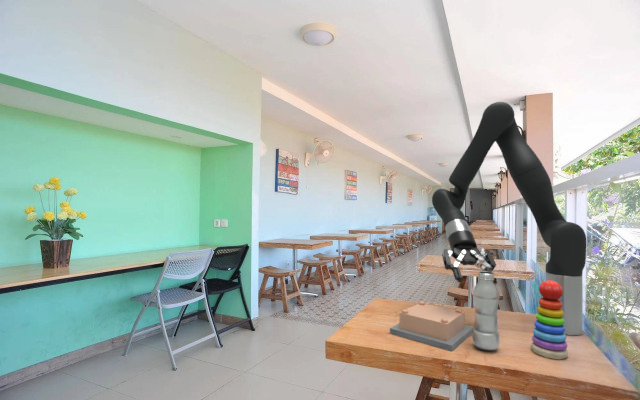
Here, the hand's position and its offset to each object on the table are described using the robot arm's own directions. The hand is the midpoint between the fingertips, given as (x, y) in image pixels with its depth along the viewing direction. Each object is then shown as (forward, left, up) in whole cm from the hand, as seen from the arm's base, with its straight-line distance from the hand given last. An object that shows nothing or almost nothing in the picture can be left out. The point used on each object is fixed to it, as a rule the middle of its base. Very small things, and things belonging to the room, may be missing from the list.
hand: (475, 281), depth 96 cm
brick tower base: (+4, -11, -16) cm, 20 cm away
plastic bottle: (+5, +4, -17) cm, 18 cm away
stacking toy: (-3, +17, -17) cm, 24 cm away
